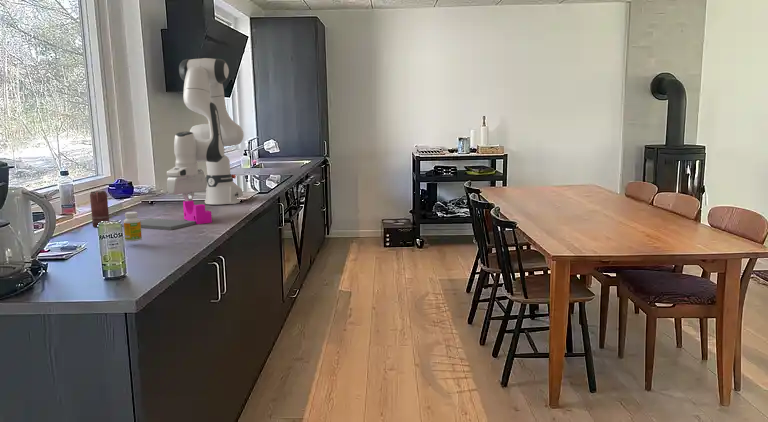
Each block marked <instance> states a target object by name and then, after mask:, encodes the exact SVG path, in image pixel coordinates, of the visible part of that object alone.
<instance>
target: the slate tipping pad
mask: <svg viewBox="0 0 768 422" xmlns="http://www.w3.org/2000/svg"><path fill="white" fill-rule="evenodd" d="M140 222H141V229H150V230H151V229H152V230H166V231H167V230H168V231H173V230H176V229H181V228H185V227H188V226H189V227H190V226H193V225H197V224H196V221H188V220H186V219H184V220H183V219H181V220H179V219H169V218H168V219H167V218H153V217H149V218H145V219H140Z"/></svg>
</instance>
